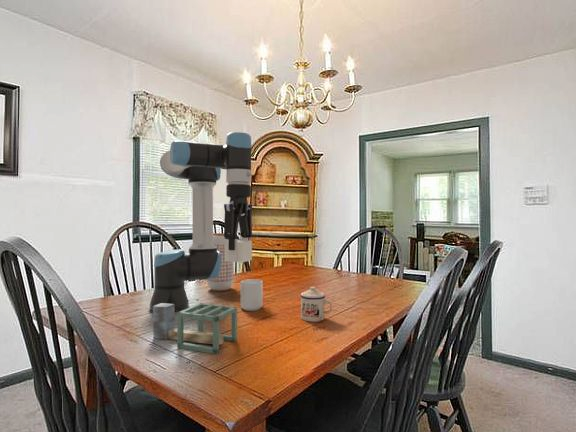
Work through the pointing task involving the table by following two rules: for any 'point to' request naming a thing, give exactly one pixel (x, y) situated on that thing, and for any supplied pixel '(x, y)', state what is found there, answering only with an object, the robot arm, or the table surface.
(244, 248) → the block
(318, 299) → the teacup with lid
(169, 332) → the mallet
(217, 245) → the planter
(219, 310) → the tube cage
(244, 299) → the mug
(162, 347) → the table surface
